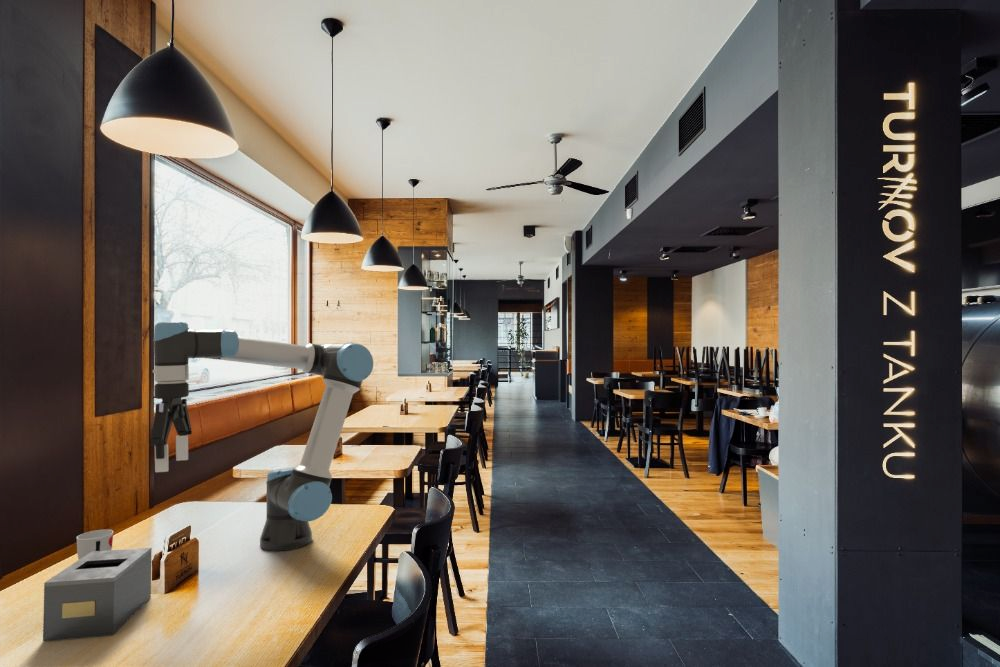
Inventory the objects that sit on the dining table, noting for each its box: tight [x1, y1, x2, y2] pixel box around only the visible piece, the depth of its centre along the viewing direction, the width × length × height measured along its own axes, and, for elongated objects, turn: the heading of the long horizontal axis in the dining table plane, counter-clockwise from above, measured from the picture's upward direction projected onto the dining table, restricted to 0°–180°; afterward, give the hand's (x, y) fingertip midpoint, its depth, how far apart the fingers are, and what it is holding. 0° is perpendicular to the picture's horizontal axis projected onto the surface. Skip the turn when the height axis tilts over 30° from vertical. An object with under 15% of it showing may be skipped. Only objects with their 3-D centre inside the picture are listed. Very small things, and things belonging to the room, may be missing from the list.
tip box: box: [42, 547, 152, 642], centre depth 123 cm, size 13×18×12 cm
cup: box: [76, 529, 114, 560], centre depth 149 cm, size 8×8×10 cm
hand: (172, 465), depth 139 cm, fingers open, 13 cm apart
